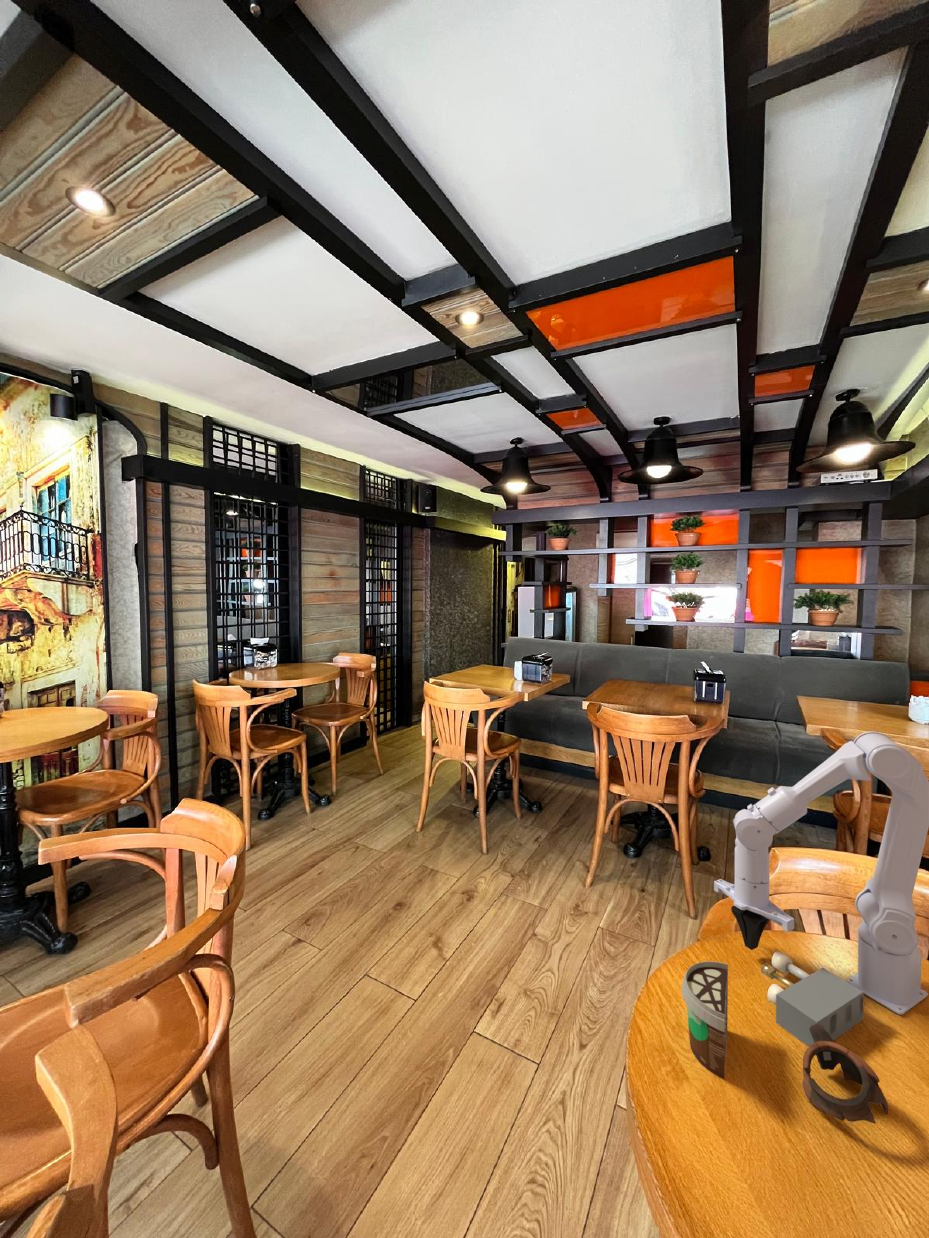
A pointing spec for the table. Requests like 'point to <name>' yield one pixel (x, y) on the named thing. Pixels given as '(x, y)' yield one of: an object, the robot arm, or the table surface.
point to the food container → (707, 1013)
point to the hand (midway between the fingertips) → (751, 946)
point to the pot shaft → (774, 974)
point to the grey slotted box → (819, 1006)
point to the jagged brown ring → (852, 1071)
